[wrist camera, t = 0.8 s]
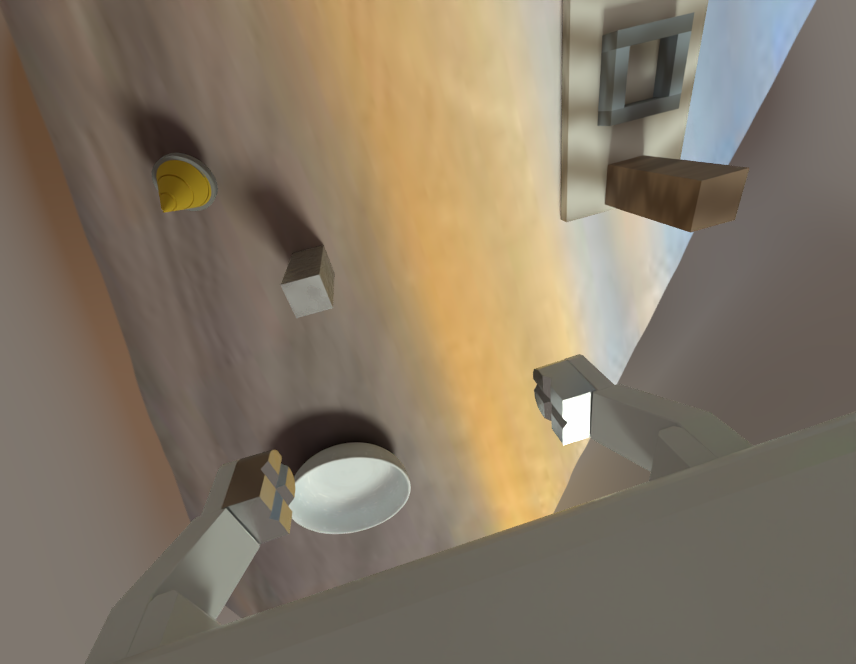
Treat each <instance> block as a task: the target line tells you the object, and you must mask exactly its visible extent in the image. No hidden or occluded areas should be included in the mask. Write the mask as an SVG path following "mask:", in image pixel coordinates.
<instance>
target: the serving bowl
mask: <svg viewBox="0 0 856 664" xmlns="http://www.w3.org/2000/svg"><path fill="white" fill-rule="evenodd" d="M294 480H295V497H294V499H293V500H292V502H291V503H290V505H289V508H290V509H291V510H292V519H293V520H294V521H295V522H297V523H298V524H299V525H301V526H303V527H305V528H307V529H309V530H312V531H316V532H320V533H327V534H344V533H352V532H357V531H362V530H365V529H368V528H371V527H374V526H376V525H378V524H380V523H382V522H384V521H386V520H388V519H389V518H391V517H392V516H393V515H395V514H396V513H397V512H398V511H399V510H400V509H401V508H402V507H403V506H404V504H405V503H406V501H407V500H408V497H409V495H410V490H411V485H410V480H409V477H408V474H407V472H406V470H405V468H404V466H403V464H402V463H401V462H400V460H399V459H398V458H397V457H396V456H395V455H394V454H392V453H391V452H389V451H388V450H386V449H384V448H382V447H380V446H377V445H373V444H369V443H361V442H353V443H344V444H339V445H335V446H332V447H329V448H327V449H324V450H322V451H320V452H319V453H317V454H315V455H314V456H312V457H311V458H310V459H308V460H307V461H306V462H305V463H304V464H303V465H302V466H301V467H300V469H299V470H298V471H297V473H296V474H295V476H294Z"/></svg>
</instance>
